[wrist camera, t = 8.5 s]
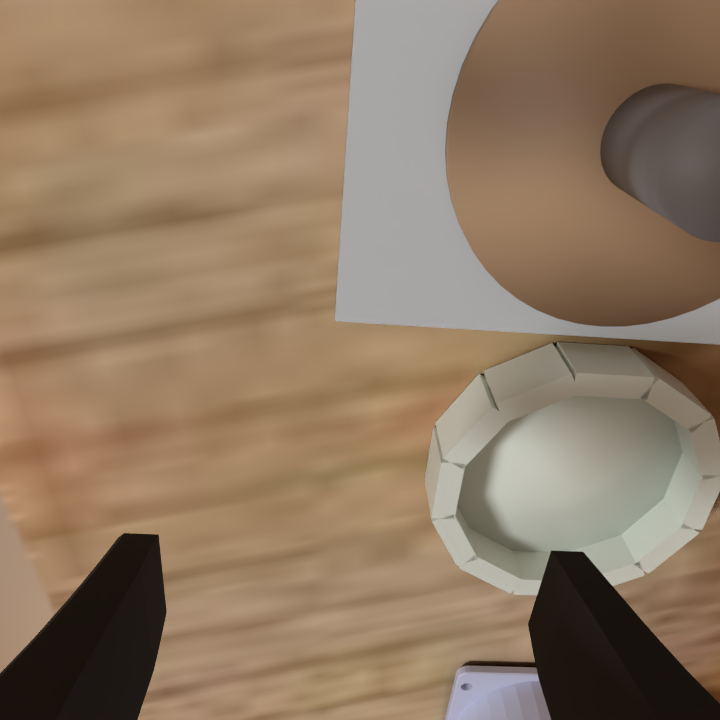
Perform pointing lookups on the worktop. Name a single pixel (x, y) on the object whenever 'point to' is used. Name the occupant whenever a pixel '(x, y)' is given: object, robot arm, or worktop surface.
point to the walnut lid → (592, 156)
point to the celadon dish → (571, 465)
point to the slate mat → (430, 189)
